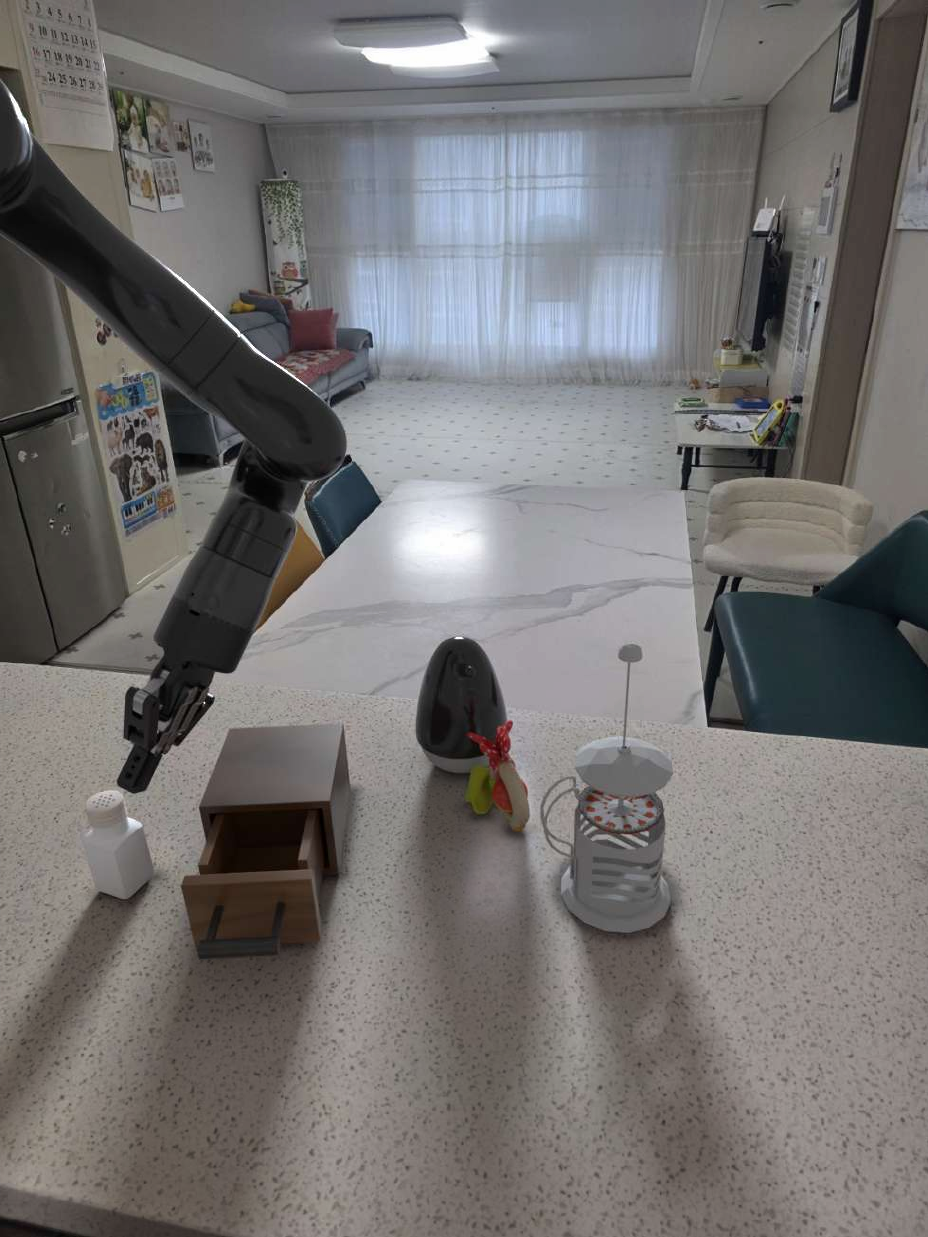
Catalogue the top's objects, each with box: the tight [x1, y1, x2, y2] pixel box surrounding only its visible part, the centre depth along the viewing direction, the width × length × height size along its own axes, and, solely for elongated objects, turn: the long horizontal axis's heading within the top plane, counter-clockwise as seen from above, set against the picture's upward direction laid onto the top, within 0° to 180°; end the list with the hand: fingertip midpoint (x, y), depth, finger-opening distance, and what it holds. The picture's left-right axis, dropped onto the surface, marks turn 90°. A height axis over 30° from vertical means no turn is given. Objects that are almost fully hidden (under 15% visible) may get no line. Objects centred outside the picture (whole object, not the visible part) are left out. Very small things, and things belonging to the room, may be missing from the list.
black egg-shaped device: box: [415, 635, 509, 774], centre depth 89 cm, size 10×10×15 cm
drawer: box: [180, 808, 327, 961], centre depth 70 cm, size 16×10×7 cm, turn 2°
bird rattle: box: [464, 719, 531, 832], centre depth 81 cm, size 6×11×9 cm
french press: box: [539, 641, 674, 934], centre depth 68 cm, size 10×12×25 cm
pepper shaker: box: [81, 789, 155, 900], centre depth 75 cm, size 4×4×10 cm
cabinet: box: [198, 722, 352, 876], centre depth 80 cm, size 13×12×9 cm
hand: (129, 788), depth 72 cm, fingers closed
